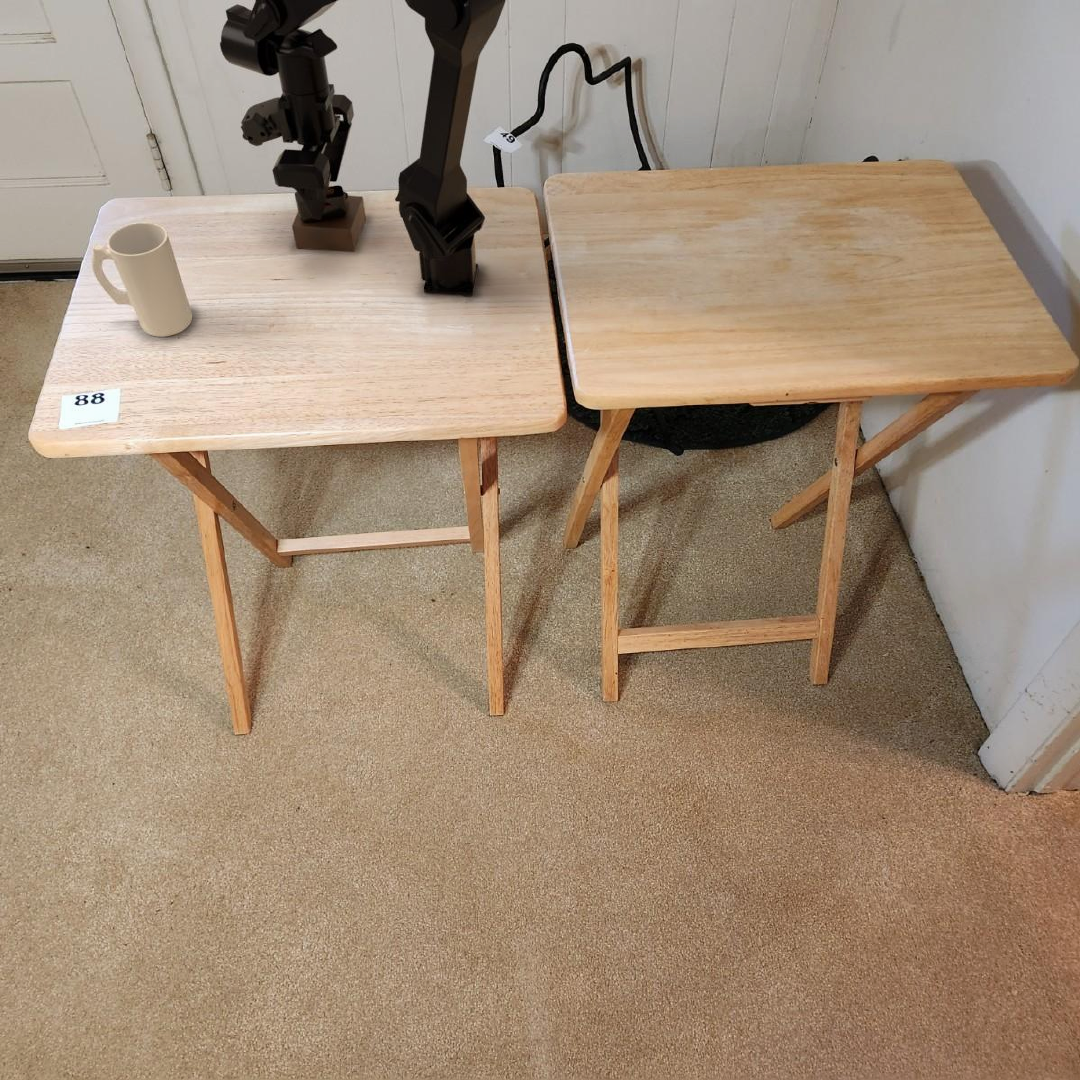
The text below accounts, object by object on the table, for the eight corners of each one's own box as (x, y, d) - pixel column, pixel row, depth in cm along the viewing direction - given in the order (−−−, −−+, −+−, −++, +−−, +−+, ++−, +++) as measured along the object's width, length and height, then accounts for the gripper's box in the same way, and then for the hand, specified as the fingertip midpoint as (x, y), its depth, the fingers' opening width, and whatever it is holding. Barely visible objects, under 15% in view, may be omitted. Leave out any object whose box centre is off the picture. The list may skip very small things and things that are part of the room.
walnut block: (366, 218, 137) (362, 196, 134) (354, 252, 132) (350, 229, 129) (310, 215, 137) (305, 193, 135) (296, 248, 132) (291, 226, 130)
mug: (200, 305, 125) (173, 222, 115) (187, 339, 120) (158, 256, 111) (122, 303, 125) (89, 221, 115) (106, 337, 120) (70, 254, 111)
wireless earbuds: (354, 216, 131) (350, 194, 129) (301, 224, 130) (296, 203, 127) (348, 198, 134) (345, 176, 132) (296, 206, 133) (291, 184, 130)
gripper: (260, 46, 125) (283, 159, 137) (217, 119, 113) (247, 236, 125) (345, 50, 124) (362, 164, 136) (312, 124, 113) (333, 241, 125)
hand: (325, 199), depth 131 cm, fingers open, 9 cm apart
